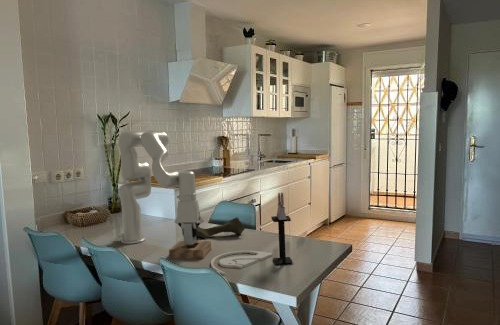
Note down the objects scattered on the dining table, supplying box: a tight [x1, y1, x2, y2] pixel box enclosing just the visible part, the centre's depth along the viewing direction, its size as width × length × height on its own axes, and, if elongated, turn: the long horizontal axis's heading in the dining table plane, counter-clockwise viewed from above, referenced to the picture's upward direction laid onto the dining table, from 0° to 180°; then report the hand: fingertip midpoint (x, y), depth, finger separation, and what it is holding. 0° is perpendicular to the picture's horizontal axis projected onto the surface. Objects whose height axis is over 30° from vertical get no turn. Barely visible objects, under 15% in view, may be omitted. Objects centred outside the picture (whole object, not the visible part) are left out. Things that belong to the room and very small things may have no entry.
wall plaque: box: [210, 250, 274, 276], centre depth 173 cm, size 19×2×30 cm
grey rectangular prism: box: [183, 223, 197, 245], centre depth 185 cm, size 4×7×10 cm, turn 171°
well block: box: [168, 240, 212, 260], centre depth 185 cm, size 16×14×4 cm
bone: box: [196, 216, 246, 239], centre depth 215 cm, size 10×10×30 cm
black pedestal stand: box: [271, 192, 294, 266], centre depth 167 cm, size 10×8×30 cm
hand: (190, 236), depth 185 cm, fingers closed on grey rectangular prism, 4 cm apart
